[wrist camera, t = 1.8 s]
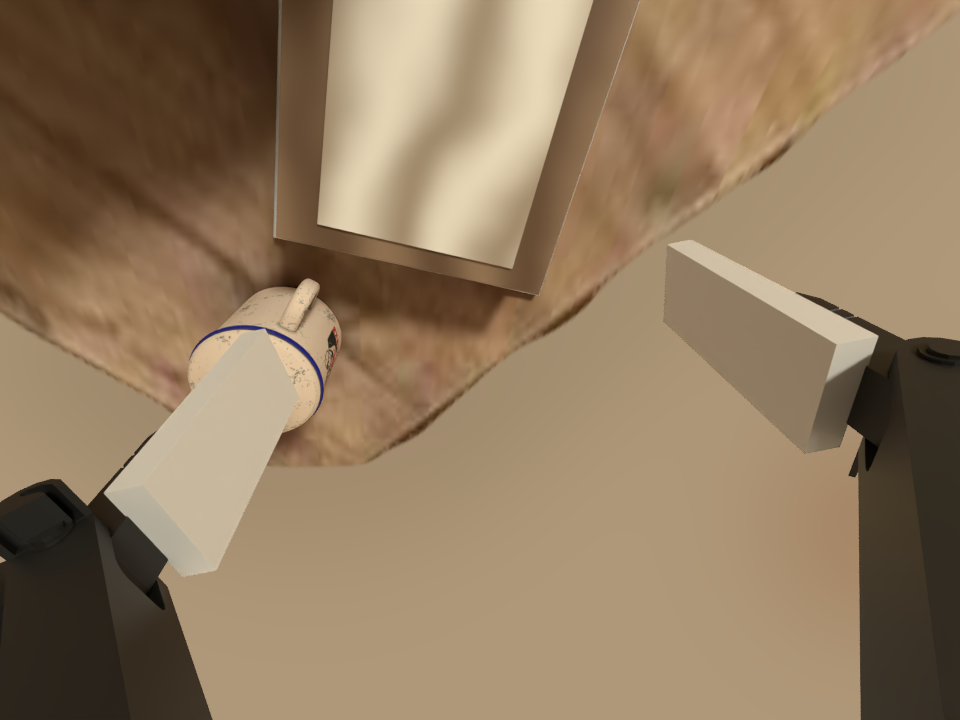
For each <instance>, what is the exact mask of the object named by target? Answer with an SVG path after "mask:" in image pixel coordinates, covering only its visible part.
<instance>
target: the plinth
mask: <svg viewBox="0 0 960 720" xmlns="http://www.w3.org/2000/svg"><path fill="white" fill-rule="evenodd" d="M639 3H640V0H279V17H278V61H277V105H276V149H275V193H274V237H275V238H279V239H284V240H288V241H293V242H297V243H302V244H306V245H311V246H316V247H320V248H325V249H329V250H334V251H338V252H343V253H347V254H352V255H356V256H361V257H366V258H370V259H375V260H379V261H384V262H388V263H393V264H397V265H402V266H406V267H411V268H416V269H420V270H425V271H429V272H434V273H438V274H443V275H447V276H452V277H456V278H461V279H466V280H470V281H475V282H479V283H484V284H488V285H493V286H497V287H502V288H506V289H511V290H516V291H520V292H525V293H529V294H534V295H538V296H539V294H540V291H541V288H542V285H543V282H544V279H545V276H546V273H547V270H548V267H549V265H550V262H551V259H552V256H553V253H554V250H555V247H556V244H557V241H558V238H559V235H560V232H561V230H562V227H563V224H564V221H565V218H566V215H567V212H568V209H569V206H570V203H571V200H572V198H573V195H574V192H575V189H576V186H577V183H578V180H579V177H580V174H581V171H582V168H583V166H584V163H585V160H586V157H587V154H588V151H589V148H590V145H591V142H592V139H593V136H594V134H595V131H596V128H597V125H598V122H599V119H600V116H601V113H602V110H603V107H604V104H605V102H606V99H607V96H608V93H609V90H610V87H611V84H612V81H613V78H614V75H615V72H616V70H617V67H618V64H619V61H620V58H621V55H622V52H623V49H624V46H625V43H626V40H627V37H628V35H629V32H630V29H631V26H632V23H633V20H634V17H635V14H636V11H637V8H638V5H639Z"/></svg>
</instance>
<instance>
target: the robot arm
mask: <svg viewBox="0 0 960 720" xmlns="http://www.w3.org/2000/svg"><path fill="white" fill-rule="evenodd" d="M665 280H666V281H665V300H664V301H665V302H664V322H665V323H666V324H667V325H668V326H669V327H670V328H671V329H672V330H673V331H674V332H675V333H676V334H677V335H678V336H680V338H682V339H683V340H684V341H685V342H686V343H687V344H688V345H689V346H690V347H691V348H692V349H693V350H695V352H697V353H698V354H699V355H700V356H701V357H702V358H703V359H704V360H705V361H706V362H707V363H708V364H709V365H710V366H712V368H714V369H715V370H716V371H717V372H718V373H719V374H720V375H721V376H722V377H723V378H724V379H725V380H726V381H727V382H728V383H730V384H731V385H732V386H733V387H734V388H735V389H736V390H737V391H738V392H739V393H741V395H742V396H743V397H744V398H746V399H747V400H748V401H749V402H750V403H751V404H752V405H753V406H754V407H755V408H756V409H757V410H758V411H759V412H760V413H762V414H763V415H764V416H765V417H766V418H767V419H768V420H769V421H770V422H771V423H772V424H773V425H774V426H775V427H777V428H778V429H779V430H780V431H781V432H782V433H783V434H784V435H785V436H786V437H787V438H788V439H789V440H790V441H791V442H792V443H794V444H795V445H796V446H797V447H798V448H799V449H800V450H801V451H802V452H803V453H804V454H806V453H811V452H817V451H822V450H826V449H832V448H836V447H840V445H841V442H842V439H843V437H844V434H845V431H846V428H847V425H850V426H851V427H852V428H854V429H855V430H856V431H857V432H859V433H860V434H861V435H862V436H863V439H862V442H861V444H860V447H859V449H858V452H857V455H856V457H855V460H854V462H853V465H852V468H851V470H850V473H849V476H852V477H856V475H857V473H859V474H858V475H859V476H858V478H859V574H860V575H859V584H860V683H861V684H860V686H861V720H960V341H957V340H950V339H944V338H929V337H928V338H927V337H921V338H913V339H908V340H904V339H902V338H900V337H898V336H896V335H894V334H892V333H889V332H888V331H885V330H883V329H881V328H879V327H877V326H875V325H873V324H871V323H869V322H867V321H865V320H863V319H861V318H859V317H854V315H853V314H851V313H849V312H847V311H845V310H843V309H841V310H839V307H837V306H835V305H833V304H831V303H828V302H827V301H824V300H823V299H821V298H817V297H813V296H809V295H805V294H801V293H797V292H796V293H794V292H792V291H790V290H788V289H786V288H784V287H782V286H780V285H778V284H777V283H775V282H773V281H771V280H769V279H767V278H765V277H763V276H761V275H759V274H757V273H755V272H753V271H751V270H749V269H747V268H745V267H743V266H741V265H740V264H738V263H736V262H733V261H732V260H730V259H728V258H726V257H724V256H722V255H720V254H718V253H716V252H714V251H712V250H710V249H708V248H706V247H704V246H702V245H701V244H699V243H697V242H695V241H693V240H686V241H682V242H677V243H672V244H667V257H666V279H665ZM298 398H299V395H298V393H297V391H296V389H295V387H294V385H293V383H292V381H291V379H290V377H289V375H288V373H287V371H286V369H285V367H284V365H283V363H282V361H281V359H280V357H279V355H278V353H277V351H276V349H275V347H274V345H273V343H272V341H271V339H270V337H269V335H268V333H267V331H266V329H260V330H255V331H251V332H246V333H242V334H241V335H240V336H239V337H238V338H237V340H236V341H235V342H234V343H233V344H232V345H231V347H230V348H229V349H228V350H227V351H226V352H225V353H224V355H223V356H222V357H221V358H220V359H219V360H218V362H217V363H216V364H215V365H214V366H213V367H212V368H211V370H210V371H209V372H208V373H207V374H206V375H205V376H204V378H203V379H202V380H201V381H200V382H199V383H198V385H197V386H196V387H195V388H194V389H193V390H192V391H191V393H190V394H189V395H188V396H187V397H186V398H185V400H184V401H183V402H182V403H181V404H180V405H179V406H178V408H177V409H176V410H175V411H174V412H173V413H172V414H171V416H170V417H169V418H168V419H167V420H166V422H165V423H164V424H163V425H162V426H161V427H160V428H159V429H158V430H157V431H156V432H154V433H153V434H152V435H150V436H149V437H148V438H147V439H146V440H145V441H144V442H143V443H142V445H141V446H140V447H139V448H138V449H137V450H136V451H135V455H133V456H131V457H130V458H129V459H128V461H127V462H126V463H125V464H124V468H120V470H119V471H118V472H117V473H116V474H115V475H114V476H113V478H112V479H111V480H110V481H109V482H108V483H107V484H106V485H105V487H104V488H103V489H102V490H101V491H100V492H99V493H98V494H97V496H96V497H95V498H94V499H93V500H92V501H91V502H90V504H89V505H88V506H87V505H86V504H85V503H83V501H82V500H80V499H79V497H78V496H77V495H75V493H73V492H72V490H71V489H70V488H69V487H68V486H67V485H66V484H65V483H64V482H62V481H61V479H50V480H46V481H43V482H39V483H36V484H33V485H31V486H29V487H27V488H24V489H22V490H20V491H18V492H16V493H15V494H13V495H11V496H10V497H8V498H6V499H4V500H3V501H1V502H0V556H1V557H2V558H4V559H5V560H6V561H5V562H2V563H0V720H212V717H211V714H210V711H209V708H208V705H207V702H206V699H205V697H204V693H203V690H202V688H201V684H200V682H199V679H198V676H197V673H196V670H195V667H194V664H193V661H192V658H191V655H190V652H189V649H188V646H187V643H186V640H185V637H184V634H183V631H182V628H181V626H180V622H179V620H178V617H177V614H176V611H175V608H174V605H173V602H172V599H171V596H170V593H169V590H168V587H167V586H166V585H165V584H164V583H163V581H161V579H159V577H158V576H159V574H160V572H161V571H162V569H163V568H164V566H165V564H166V563H167V561H168V562H169V563H170V564H171V565H172V566H173V567H174V568H175V569H176V570H177V571H178V572H179V573H180V574H181V576H182V577H185V576H190V575H195V574H200V573H205V572H210V571H215V570H216V569H217V567H218V565H219V563H220V561H221V559H222V557H223V555H224V553H225V551H226V549H227V546H228V544H229V542H230V540H231V538H232V536H233V534H234V532H235V530H236V528H237V526H238V523H239V521H240V519H241V517H242V515H243V513H244V511H245V509H246V507H247V505H248V503H249V500H250V498H251V496H252V494H253V492H254V490H255V488H256V486H257V484H258V482H259V480H260V477H261V475H262V473H263V471H264V469H265V467H266V465H267V463H268V461H269V459H270V457H271V455H272V452H273V450H274V448H275V446H276V444H277V442H278V440H279V438H280V436H281V434H282V432H283V429H284V427H285V425H286V423H287V421H288V419H289V417H290V415H291V413H292V411H293V409H294V406H295V404H296V402H297V400H298Z"/></svg>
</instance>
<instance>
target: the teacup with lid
mask: <svg viewBox="0 0 960 720" xmlns="http://www.w3.org/2000/svg"><path fill="white" fill-rule="evenodd" d="M319 290H320V286H319V284H318V283H317V282H315V281H313V280H311V279H305V280H304V281H302V282H301V284H300V285H299V286H298V288H297V289H296V288H291V287H273V288H268V289H265V290H262V291H260V292H258V293H256V294H254V295H253V296H252V297H250V298H249V299H248V300H247V301H246V302H245V303H244V304H243V305H242V306H241V307H240V308H239V309H238V310H237V311H236V312H235V313H234V314H233V315H232V316H231V317H230V318H229V319H228V320H227V321H226V322H225V323H224V324H223V325H222V326H221V327H220V328H219V329H218V330H216V331H214V332H212V333H210V334H208V335H207V336H205V337H204V338H203V339H202V340H201V341H200V342H199V343H198V344H197V345H196V347H195V348H194V350H193V352H192V354H191V356H190V359H189V364H188V381H189V385H190V388H191V391H192V390H193V389H194V388H195V387H196V386H197V385H198V383H199V382H200V381H201V380H202V379H203V378H204V376H205V375H206V374H207V373H208V372H209V371H210V370H211V368H212V367H213V366H214V365H215V364H216V363H217V362H218V360H219V359H220V358H221V357H222V356H223V355H224V353H225V352H226V351H227V350H228V349H229V348H230V347H231V345H232V344H233V343H234V342H235V341H236V340H237V338H238V337H239V336H240V335H241V334H242V333H246V332H251V331H255V330H260V329H266V331H267V333H268V335H269V337H270V339H271V341H272V343H273V345H274V347H275V349H276V351H277V353H278V355H279V357H280V359H281V361H282V363H283V365H284V367H285V369H286V371H287V373H288V375H289V377H290V379H291V381H292V383H293V385H294V387H295V389H296V391H297V393H298V395H299V398H298V400H297V402H296V404H295V406H294V409H293V411H292V413H291V415H290V417H289V419H288V421H287V423H286V425H285V427H284V429H283V432H287V431H290V430H293V429H295V428H297V427H299V426H300V425H302V424H303V423H305V422H306V421H307V420H309V419H310V418H311V417H312V416H313V415H314V414H315V413H316V411H317V410H318V408H319V406H320V404H321V401H322V398H323V392H324V386H325V383H326V381H327V379H328V376H329V374H330V371H331V369H332V367H333V364H334V362H335V359H336V357H337V355H338V352H339V349H340V346H341V330H340V326H339V323H338V321H337V319H336V317H335V315H334V314H333V312H332V311H331V310H330V309H329V307H328V306H327V305H326V304H325V303H324V302H322V301H321V300H320V299H318V298H317V295H318V293H319ZM283 432H282V433H283Z"/></svg>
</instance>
